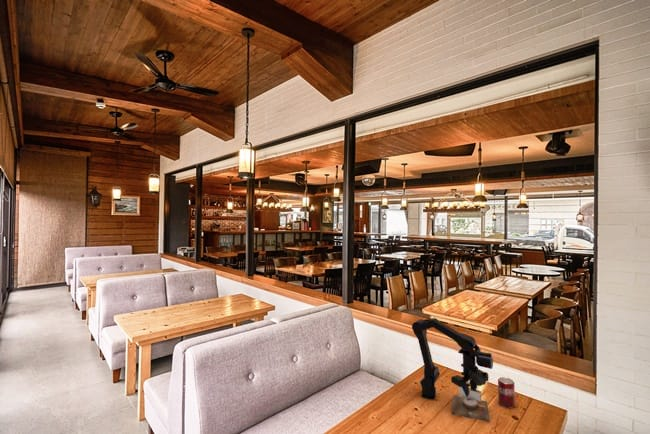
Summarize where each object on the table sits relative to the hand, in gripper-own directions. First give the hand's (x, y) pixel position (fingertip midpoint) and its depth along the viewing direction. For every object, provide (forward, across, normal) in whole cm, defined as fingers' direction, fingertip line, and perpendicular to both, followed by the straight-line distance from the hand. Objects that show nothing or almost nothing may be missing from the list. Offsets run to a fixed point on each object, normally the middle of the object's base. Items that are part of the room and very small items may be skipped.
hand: (470, 395), depth 157 cm
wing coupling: (+5, 0, 0) cm, 5 cm away
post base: (+7, 0, 0) cm, 7 cm away
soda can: (+7, +20, -4) cm, 21 cm away
